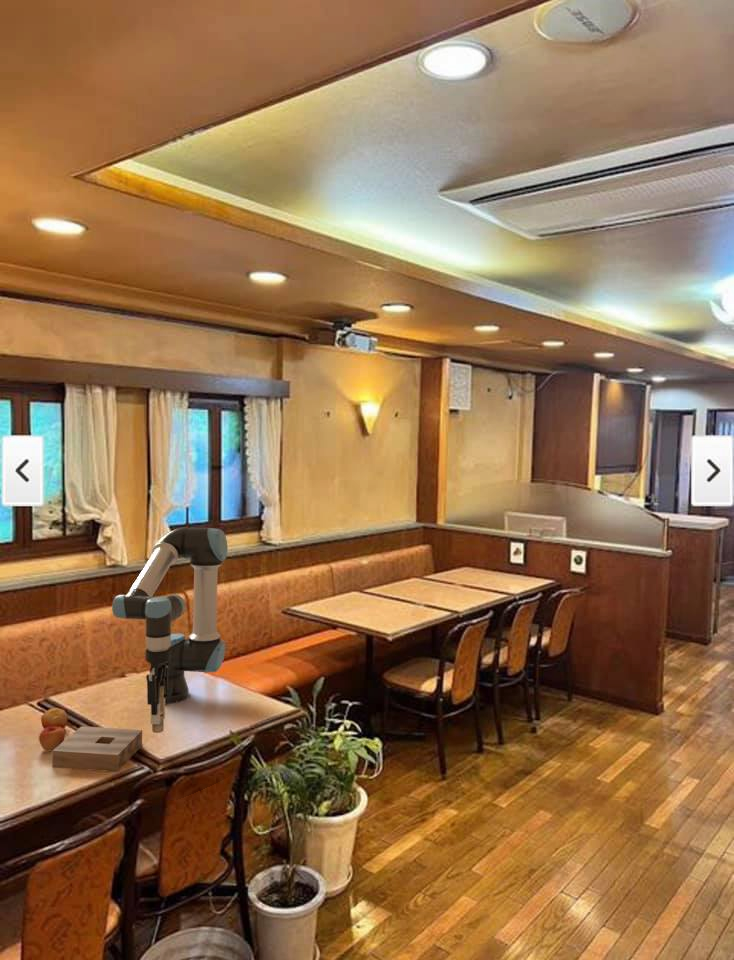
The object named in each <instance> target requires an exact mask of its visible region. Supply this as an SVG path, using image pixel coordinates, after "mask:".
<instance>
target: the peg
mask: <svg viewBox="0 0 734 960" xmlns="http://www.w3.org/2000/svg"><path fill="white" fill-rule="evenodd" d="M159 703H160V724H151V730H152V733H155V734H158V733H159V734H160V733H162V732H164V725H165V723H164V719H165V718H164V686H162V685H160V693H159Z"/></svg>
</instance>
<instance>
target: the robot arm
mask: <svg viewBox="0 0 734 960" xmlns="http://www.w3.org/2000/svg"><path fill="white" fill-rule="evenodd" d="M227 557H228V541H227V536H226V534H225V532H224V531H223V530H222V529H218V528H213V527H185V526H183V527H177V528H176V529H173V530H171V531H169V532H167V533H166V534H164V535H163V536H162V537H161V538H160V539H159V540H157V542H156V543H155V544H154V546H153V548H152V553H151V556H150V557H149V559H148V560H147V562H146V563H145V565H144V567H143V569H142V570H141V571H140V573H139V575H138V576H137V578H136V579H135V581H134V582H133V584H132V585H131V587H130V588H129V590H128V592H127V593H126V594H118V595H116V596H115V597H114V599H113V601H112V606H111V608H112V615H113V616H114V617H115V618H116V619H125V620H145V636H144V638H143V639H144V640H145V648H146V649H145V661H146V662H147V663H149V664H150V667H149V674H146V677H145V678H146V683H147V684H146V685H147V687H146V689H147V691H146V694H147V695H146V699H147V705H148V706H149V705H150V724H151V725H152V724H160V703H159V693H160V685H162V686H164V719H166V704H174V703H180V702H181V701H184V700H186V699H188V698H189V696H190V695H189V694H190V693H189V692H190V691H189V690H190V689H189V687H188V683H187V680H186V677H185V672H191V673H192V672H195V673H197V672H198V673H205V674H207V673H216V672H218V671H219V670H220V668H221V666H222V665H223V663H224V662H223V661H224V659H225V654H226V643H225V641H223V640H221V634H220V633H219V632H218V631H217V622H218V620H217V616H218V612H217V611H218V609H217V608H218V573H219V572H218V569H219V568H220V567H221V566H222V565H223V561H225V560H226V559H227ZM180 559H185V560H187V559H188V560H189V561H190V562H189V563H190V564H189V565H190V566H191V567H192V568H193V572H194V574H193V575H194V576H193V614H192V615H193V617H192V619H193V620H192V621H193V622H192V624H193V625H192V632H190V633H191V634H190V635H188V639H186V636H185V634H183V633H172V629H171V628H172V627H171V626H172V623H173V622H174V621H175V620H177V619H179V618H180V617H181V616H182V614H183V613H184V612H185V610H186V601H185V600H184V598H183V597H181V596H180V595H178V594H170V595H167V596H153V595H154V594H155V592H156V590H157V589H158V587H159V586H160V584H161V582H162V581H163V579H164V577H165V575H166V574H167V572H168V570H169V569H170V567H171V565H173V564H175V563H176V562H177V561H178V560H180Z"/></svg>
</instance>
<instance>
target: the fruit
mask: <svg viewBox="0 0 734 960" xmlns="http://www.w3.org/2000/svg"><path fill="white" fill-rule="evenodd" d="M68 717H69V716H68V714H67V712H66V711H65V710H64V709H62V708H58V707H52V708H50V709H48V710H46V711H45V712H44V713H43V714H42V715H41V718H40V719H41V721H40V722H41V725H42V728H43V730H44V729H45V728H47V725H48V727H61V728H63V729H64V730H65V728H66V727H67V725H68Z"/></svg>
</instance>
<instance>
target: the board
mask: <svg viewBox="0 0 734 960" xmlns="http://www.w3.org/2000/svg"><path fill="white" fill-rule="evenodd" d="M142 746H143V729H134V728H133V729H131V728H129V729H128V728H118V727H117V728H115V727H100V726H99V727H98V726H85V725H84V726H83V725H82V726H80V727H79V728H78V729H77V730H76V731H74V732H73V733H72V734H71V735H70V736H68V737H67V738H66V739H64V741H63V742H62V743H61V744H60V745H59V746H57V747H56V748H55V749H54V750H51V751H52V753H51V754H52V755H51V757H52V758H51V760H52V762H51V767H52V768H56V769H57V768H58V769H71V768H74V770H86V769H91V770H90V771H101V770H106V772H116V773H118V772H119V771H121V769H122V768H123V767H124V766H125V764H126V763H128V761H129V760H130V759H131V758H132V757H133V756H134V755H135V754H136V753H137V752H138V751H139V749H140V748H141V747H142ZM75 768H77V769H75Z"/></svg>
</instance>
